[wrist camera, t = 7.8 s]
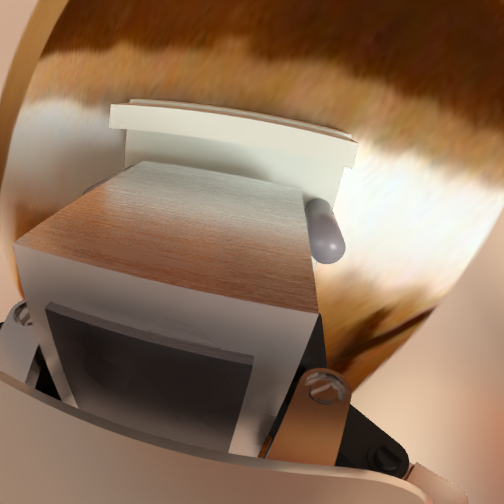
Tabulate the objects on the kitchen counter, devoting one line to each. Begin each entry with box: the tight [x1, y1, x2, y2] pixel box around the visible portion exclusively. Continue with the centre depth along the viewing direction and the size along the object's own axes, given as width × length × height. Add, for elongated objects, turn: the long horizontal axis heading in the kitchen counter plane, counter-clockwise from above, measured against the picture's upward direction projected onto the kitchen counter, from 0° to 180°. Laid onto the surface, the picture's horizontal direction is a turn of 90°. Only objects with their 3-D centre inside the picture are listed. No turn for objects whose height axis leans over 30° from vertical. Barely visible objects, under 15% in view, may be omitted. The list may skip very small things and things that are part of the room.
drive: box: [13, 161, 319, 458], centre depth 9 cm, size 8×5×6 cm, turn 170°
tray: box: [83, 99, 359, 272], centre depth 12 cm, size 12×8×4 cm, turn 170°
